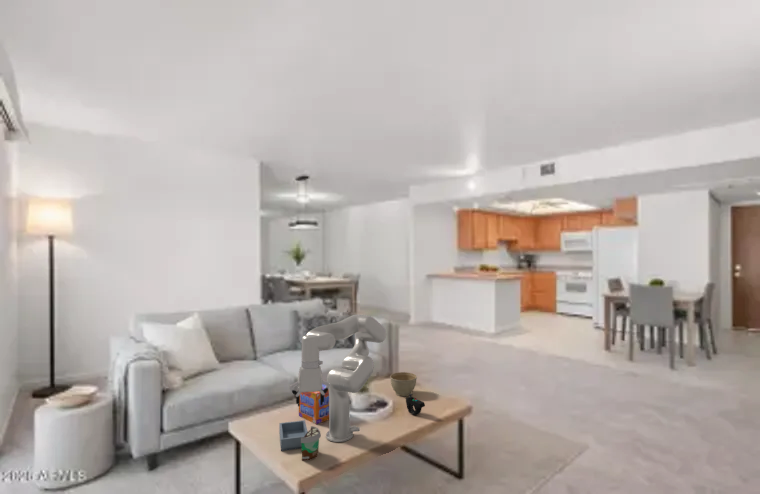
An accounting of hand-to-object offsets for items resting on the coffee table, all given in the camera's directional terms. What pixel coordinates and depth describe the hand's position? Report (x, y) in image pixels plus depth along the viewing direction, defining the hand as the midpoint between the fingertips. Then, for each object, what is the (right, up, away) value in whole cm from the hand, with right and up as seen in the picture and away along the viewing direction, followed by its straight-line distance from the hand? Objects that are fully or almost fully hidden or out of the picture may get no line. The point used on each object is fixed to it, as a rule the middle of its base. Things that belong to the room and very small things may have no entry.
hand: (310, 404), depth 178 cm
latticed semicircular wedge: (+2, -22, -1) cm, 22 cm away
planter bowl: (+44, -22, +74) cm, 89 cm away
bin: (-10, -21, +13) cm, 27 cm away
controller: (+49, -22, +42) cm, 68 cm away
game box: (-2, -22, +41) cm, 47 cm away
